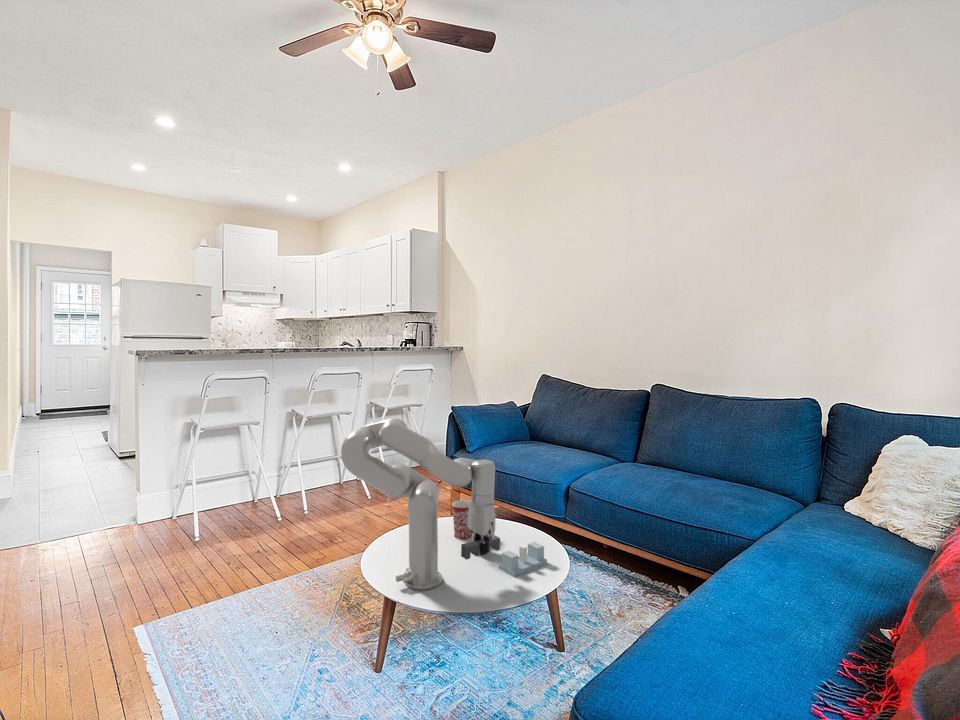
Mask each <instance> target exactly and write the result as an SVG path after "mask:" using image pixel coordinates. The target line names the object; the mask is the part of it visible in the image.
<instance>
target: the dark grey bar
mask: <svg viewBox="0 0 960 720" xmlns="http://www.w3.org/2000/svg"><path fill="white" fill-rule="evenodd" d="M480 543H482V540H481V539H480V540H476V541H473V540H472V541H469V542H464V543H462V544H461V545H460V546H461V549H460V556H461V557H462V558H463V559H464V560H470V559H471V554H472V555H473V556H474V557H480V555H479V554H480ZM491 549H492V550H494V551H496V552H497V551H500V550H501V537H499V536H498V535H497V536H496V535H495V539H492V540H490V542H489V551H488V554H490V553H491Z"/></svg>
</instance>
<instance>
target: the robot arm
mask: <svg viewBox="0 0 960 720" xmlns="http://www.w3.org/2000/svg"><path fill="white" fill-rule="evenodd" d="M383 446H384V447H387V448H388V449H390V450H392V451H393V452H396V453H398V454H400V455H402V456H404V457H406V458H407V459H409V460H411V461H412V462H414V463H417V464H418V465H419V466H420V467H421V468H422V469H424V470H425V471H427V472H428V473H429V474H431V475H432V476H434V477H435V478H436V479H439V480H440V481H442V482H443V483H446V484H448V485H450V486H452V487H454V488H460V489H461V488H465V487H467V486H468V485H469V484H470V483H471V499H470V500H469V501H470V504H469V509H468V518H467V526H468V528H469V529H470V530H471V531H472V535H473V536H471V538H472V537H473V539H474V541H476V540H480V539H481V540H482V543H480V555H479V556H485V555H484V554H486V555H487V554H489V553H488V551H489V542H490V540H492V539H495V536H496V534H495V532H496V516H495V515H496V510H495V508H496V507H495V484H496V482H495V481H496V464H495V462H494V461H492V460H489V459H472V458H468V457H467V458H466V457H458V458H455V459H451V457H450V458H449V457H448V456H446V455H445V454H443V453H442V452H441V451H440V450H439V449H438V448H437V446H436V445H435V444H434V443H433V442H432V441H431V439H429V438H427V437H425V436H423V435H421V434H419V433H417V432H416V431H413V430H411V429H410V428H408V426H407V424H406V422H405V421H404V420H403V419H400V418H395V417H394V418H388V419H386V420H382V421H377V422H375V423H371V424H366V425H362V426H359V427H357V428H356V429H354V430H353V431H351V432H350V433H349V434H347V436H346V437H345V438H344V440H343V442H342V444H341V447H340V448H341V449H340V450H341V451H340V457H341V461H342V463H343V466H344V467H345V468H346V470H348V471H349V473H351V474H352V475H353V476H355V477H357V479H358V478H359V480H361V481H363V482H365V483H366V484H368V485H369V486H371V487H373V488H374V489H376V490H377V491H378V492H381V493H382V494H383V495H385V496H387V497H388V498H390V499H393V500H398V499H399V500H400V499H402V498H403V497H406V498H408V501H407V516H408V517H407V519H408V568H406V569H405V572H404V573H403V574H398V575H396V576H395V581H396V583H399V582H403V584H405V586H407V587H408V588H410V589H412V588H413V590H419V591H420V590H421V591H424V590H425V591H426V590H430V589H434V588H436V587H438V586H439V585H440V584H441V583H442V582H443V574H441V572H440V571H438V570H439V569H438V568H439V567H438V563H439V562H438V561H439V559H438V558H439V557H438V552H439V550H438V547H439V545H438V537H439V536H438V531H439V530H438V503H439V500H440V499H439V497H440V489H439V487H438V485H437V484H436V483H435V482H434V481H432V480H431V479H430V478H428V477H426V475H424V474H421V472H418V471H417V470H415V469H414V468H412V467H410V466H408V465H406V464H402V463H397V464H393V465H392V466H391V465H389V464H388V463H386V462H384V461H383V460H381V459H380V458H377V457H375V456H372V455H371V454H370V452H369V451H370V450H371V449H375V448H379V447H383ZM485 536H487V537H486V538H485Z"/></svg>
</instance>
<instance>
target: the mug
mask: <svg viewBox="0 0 960 720" xmlns="http://www.w3.org/2000/svg"><path fill="white" fill-rule="evenodd" d="M469 504H470V500H467V499H464V500H461V499H460V500H456V501H454V502H452V503H451V507H452V517H453V532H454V533H453V534H454V537H455V538H456V539H458V538H459V540H467V538H468V539H470V538H472V535H473V534H472V532H471V533H469V531H470V529H469V528H468V526H467V518H464V517H468V512H467V511H468V509H469ZM464 510H465V511H464ZM465 528H468V529H465Z"/></svg>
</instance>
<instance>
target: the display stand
mask: <svg viewBox="0 0 960 720" xmlns="http://www.w3.org/2000/svg"><path fill="white" fill-rule="evenodd" d="M518 549H519V551H518V552H519V555H518V554H517V553H515V552H512V551H511V550H506V551H502V552H501V562H500V563H498V569H499V570H501V571H503V572H504V573H506V574H508V575H509V576H511V577H516V576H520V575H522V574H524V573H527V572H530V571H532V570H535V569H537V567H538V568H540V567H542V566H541V565H543V566H545V565H547V564H548V559H547V558H545V554H544V553H545V546H544V545H542V544H540V543H537V542H536V541H532V542H530V543H527V546H526V545H524V544H523V545H519V548H518ZM546 563H547V564H546ZM544 564H545V565H544ZM539 566H540V567H539ZM534 568H535V569H534Z"/></svg>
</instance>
